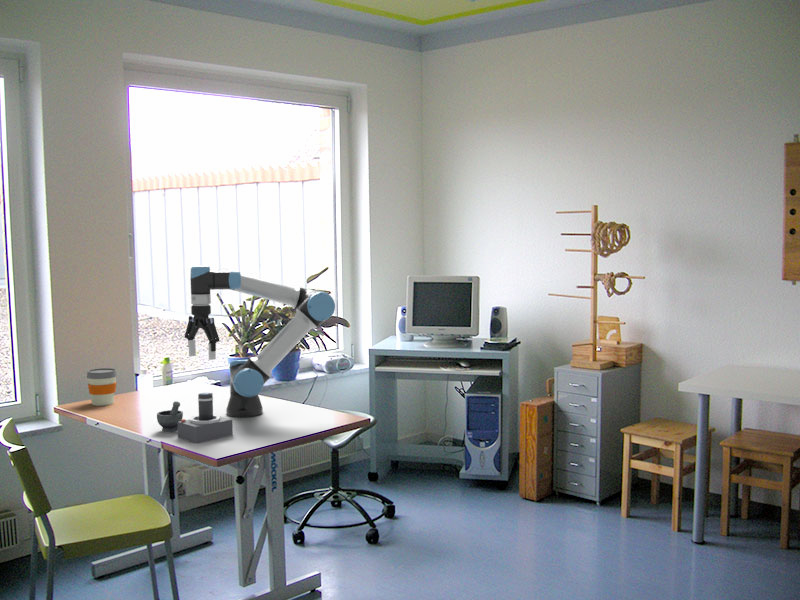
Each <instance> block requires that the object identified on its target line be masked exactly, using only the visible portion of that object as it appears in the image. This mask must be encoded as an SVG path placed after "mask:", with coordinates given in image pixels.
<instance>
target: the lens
mask: <svg viewBox="0 0 800 600" xmlns="http://www.w3.org/2000/svg"><path fill="white" fill-rule="evenodd" d="M197 395H198V396H197V401H198V416H199V421H208V420H213V415H214V404H213V403H214V402H213V401H214V397H213V395H214V394H213V392H201V393H198V394H197Z"/></svg>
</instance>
